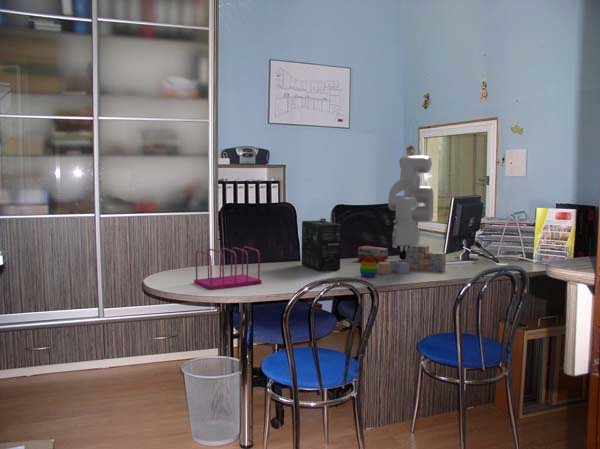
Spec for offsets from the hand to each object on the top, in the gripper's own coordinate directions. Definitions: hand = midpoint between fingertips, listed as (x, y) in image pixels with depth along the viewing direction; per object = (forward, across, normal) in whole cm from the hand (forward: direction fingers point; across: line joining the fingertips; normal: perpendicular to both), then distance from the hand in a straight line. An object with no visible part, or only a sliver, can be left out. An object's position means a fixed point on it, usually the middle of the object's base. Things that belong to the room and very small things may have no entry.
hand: (402, 259), depth 267 cm
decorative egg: (+7, -20, -7) cm, 23 cm away
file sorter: (+6, -87, -7) cm, 88 cm away
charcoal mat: (+7, -5, +4) cm, 10 cm away
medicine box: (+8, -1, +39) cm, 40 cm away
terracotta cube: (+7, -9, 0) cm, 12 cm away
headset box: (+8, -35, +24) cm, 44 cm away
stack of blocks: (+8, +16, +9) cm, 20 cm away
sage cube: (+7, -2, +8) cm, 11 cm away
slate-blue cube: (+7, 0, -1) cm, 7 cm away
